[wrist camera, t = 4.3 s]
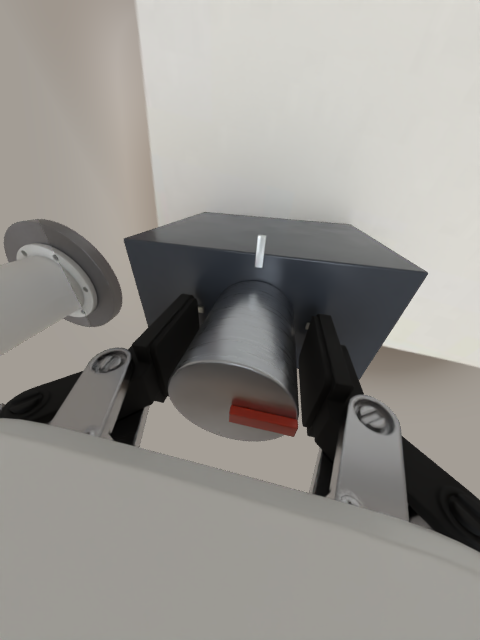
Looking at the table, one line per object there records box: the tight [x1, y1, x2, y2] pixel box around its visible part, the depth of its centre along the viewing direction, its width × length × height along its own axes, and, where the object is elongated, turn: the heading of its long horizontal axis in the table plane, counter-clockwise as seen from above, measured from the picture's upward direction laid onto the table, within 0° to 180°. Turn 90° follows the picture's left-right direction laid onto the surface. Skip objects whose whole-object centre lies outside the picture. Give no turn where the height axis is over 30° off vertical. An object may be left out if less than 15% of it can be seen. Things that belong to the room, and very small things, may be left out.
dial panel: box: [124, 212, 428, 380], centre depth 16 cm, size 14×9×12 cm, turn 87°
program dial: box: [168, 281, 299, 441], centre depth 8 cm, size 4×4×6 cm
